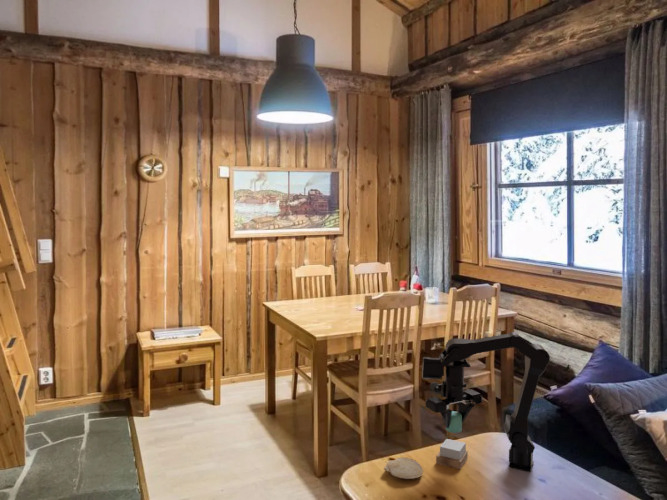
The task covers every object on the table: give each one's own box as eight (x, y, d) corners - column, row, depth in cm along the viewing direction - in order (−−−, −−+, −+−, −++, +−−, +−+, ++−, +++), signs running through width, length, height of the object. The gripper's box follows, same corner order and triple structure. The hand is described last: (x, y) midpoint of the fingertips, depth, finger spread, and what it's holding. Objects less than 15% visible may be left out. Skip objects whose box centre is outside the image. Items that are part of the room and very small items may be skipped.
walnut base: (467, 459, 176) (467, 451, 175) (460, 470, 169) (460, 461, 168) (443, 454, 180) (443, 445, 179) (436, 464, 173) (436, 456, 172)
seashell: (430, 479, 163) (430, 470, 163) (397, 488, 159) (397, 478, 158) (410, 462, 174) (411, 454, 174) (378, 469, 169) (378, 461, 169)
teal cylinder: (463, 427, 173) (463, 413, 173) (459, 434, 169) (459, 418, 168) (448, 424, 176) (448, 410, 175) (443, 430, 171) (444, 415, 171)
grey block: (465, 451, 175) (465, 442, 175) (459, 460, 169) (459, 451, 169) (446, 447, 178) (446, 438, 178) (439, 455, 173) (439, 446, 172)
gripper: (461, 367, 182) (460, 411, 183) (415, 376, 174) (415, 422, 175) (483, 377, 172) (482, 424, 174) (436, 387, 164) (436, 436, 165)
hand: (453, 426), depth 172 cm, fingers closed on teal cylinder, 5 cm apart
